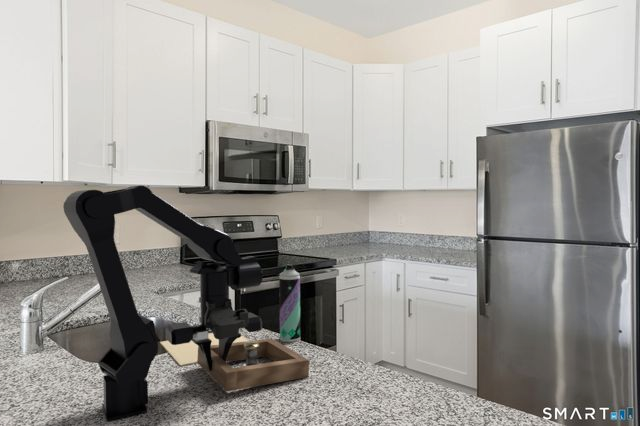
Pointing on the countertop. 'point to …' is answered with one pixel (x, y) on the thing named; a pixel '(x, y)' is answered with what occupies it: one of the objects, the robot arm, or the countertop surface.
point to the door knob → (251, 353)
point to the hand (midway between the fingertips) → (215, 369)
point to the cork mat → (190, 350)
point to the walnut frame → (281, 370)
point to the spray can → (289, 304)
